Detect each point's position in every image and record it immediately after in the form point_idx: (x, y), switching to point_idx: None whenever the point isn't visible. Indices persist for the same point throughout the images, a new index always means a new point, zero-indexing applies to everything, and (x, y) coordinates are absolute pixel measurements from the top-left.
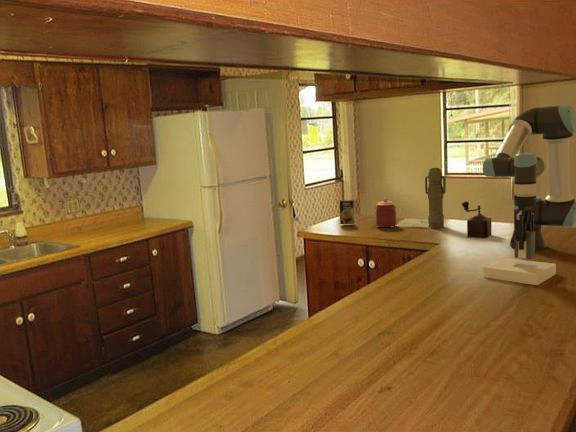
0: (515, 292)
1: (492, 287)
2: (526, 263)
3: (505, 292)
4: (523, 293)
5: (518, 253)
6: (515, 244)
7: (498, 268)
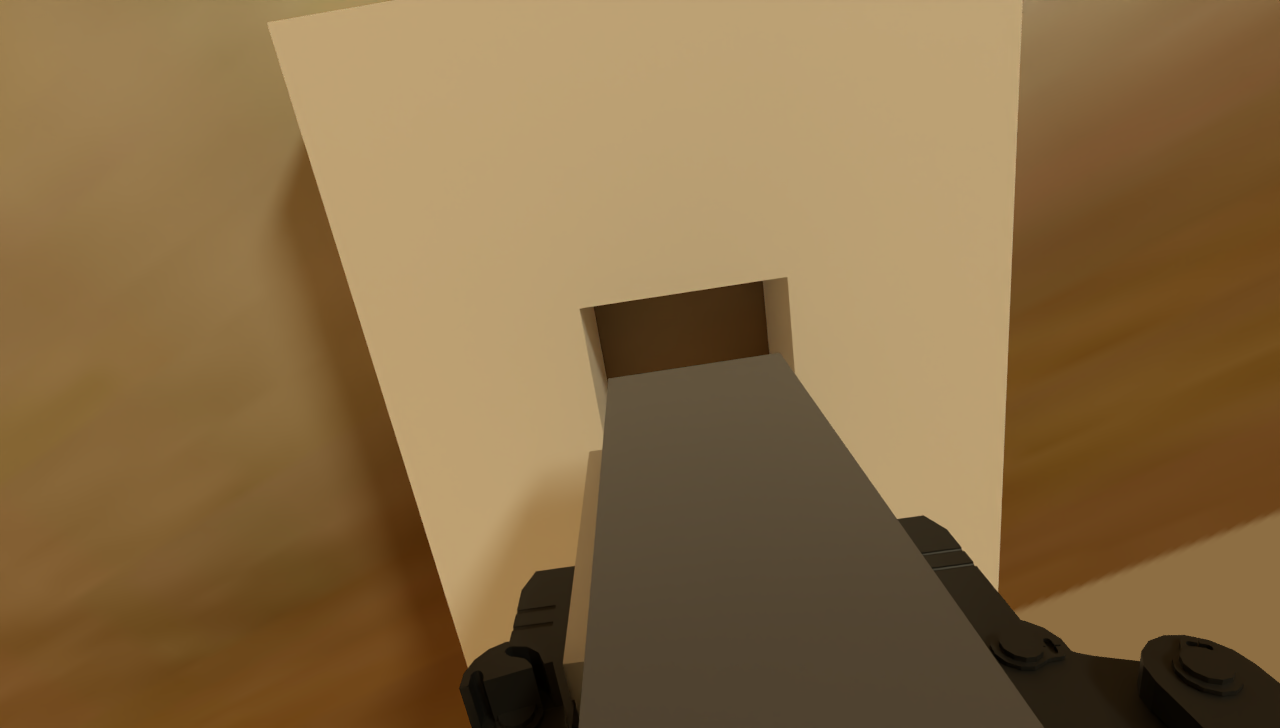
0: (172, 575)
1: (113, 363)
2: (843, 364)
3: (99, 524)
4: (205, 626)
5: (584, 492)
6: (601, 510)
7: (368, 244)
